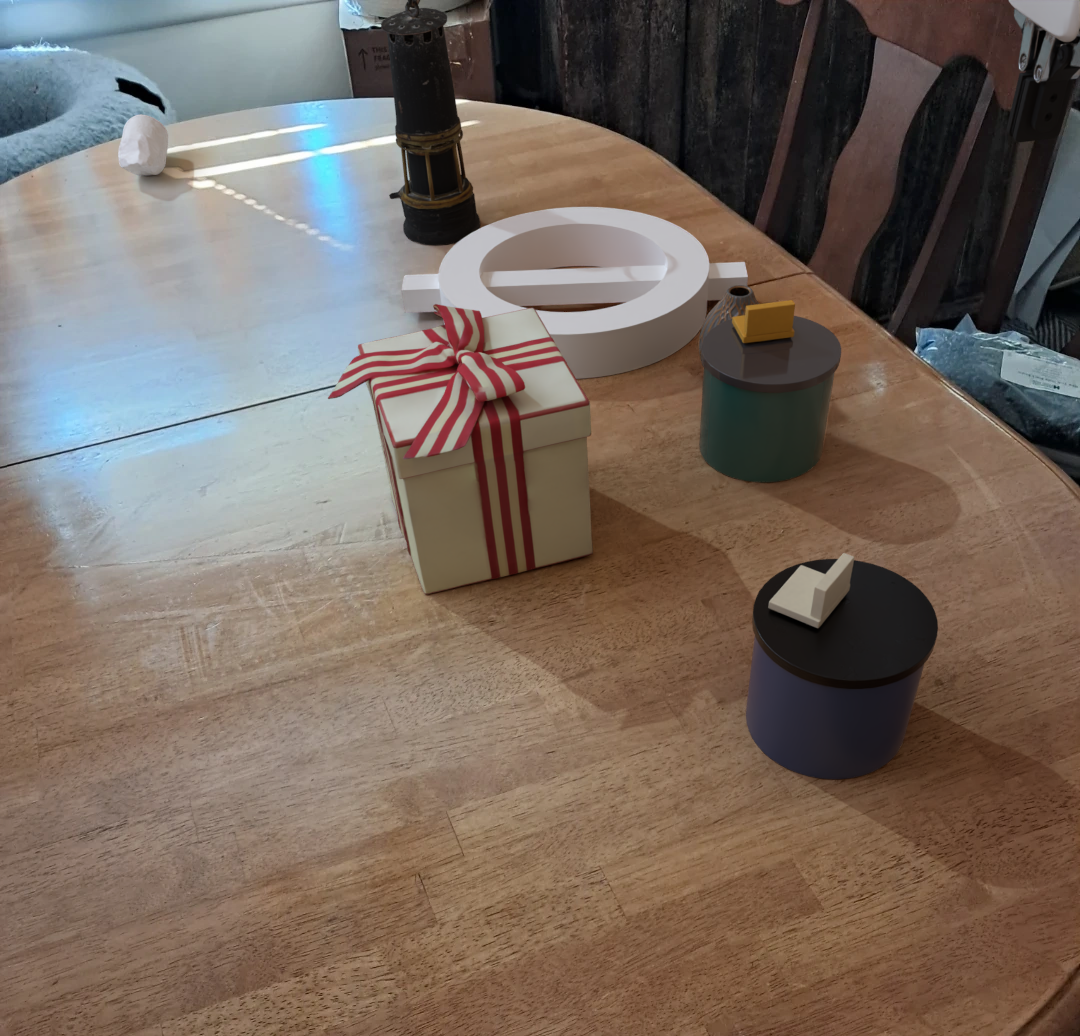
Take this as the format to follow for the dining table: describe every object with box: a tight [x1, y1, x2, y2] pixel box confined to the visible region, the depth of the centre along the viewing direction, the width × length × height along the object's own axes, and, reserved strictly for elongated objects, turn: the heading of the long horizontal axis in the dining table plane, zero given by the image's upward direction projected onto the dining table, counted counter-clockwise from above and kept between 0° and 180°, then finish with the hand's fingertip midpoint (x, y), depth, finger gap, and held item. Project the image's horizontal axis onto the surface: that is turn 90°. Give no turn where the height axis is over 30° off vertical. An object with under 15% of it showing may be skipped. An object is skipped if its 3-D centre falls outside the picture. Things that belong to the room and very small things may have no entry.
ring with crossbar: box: [401, 206, 749, 380], centre depth 121 cm, size 28×28×5 cm
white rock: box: [117, 114, 169, 176], centre depth 151 cm, size 6×12×6 cm, turn 10°
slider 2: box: [768, 552, 855, 628], centre depth 74 cm, size 4×4×3 cm
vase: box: [698, 285, 760, 369], centre depth 109 cm, size 7×7×9 cm
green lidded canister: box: [698, 315, 842, 483], centre depth 100 cm, size 12×12×10 cm
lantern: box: [380, 0, 481, 246], centre depth 127 cm, size 9×9×30 cm
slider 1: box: [732, 299, 796, 343], centre depth 97 cm, size 4×4×3 cm
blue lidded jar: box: [745, 558, 939, 780], centre depth 77 cm, size 12×12×10 cm
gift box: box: [327, 304, 594, 595], centre depth 91 cm, size 17×18×17 cm
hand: (1031, 135), depth 81 cm, fingers closed
